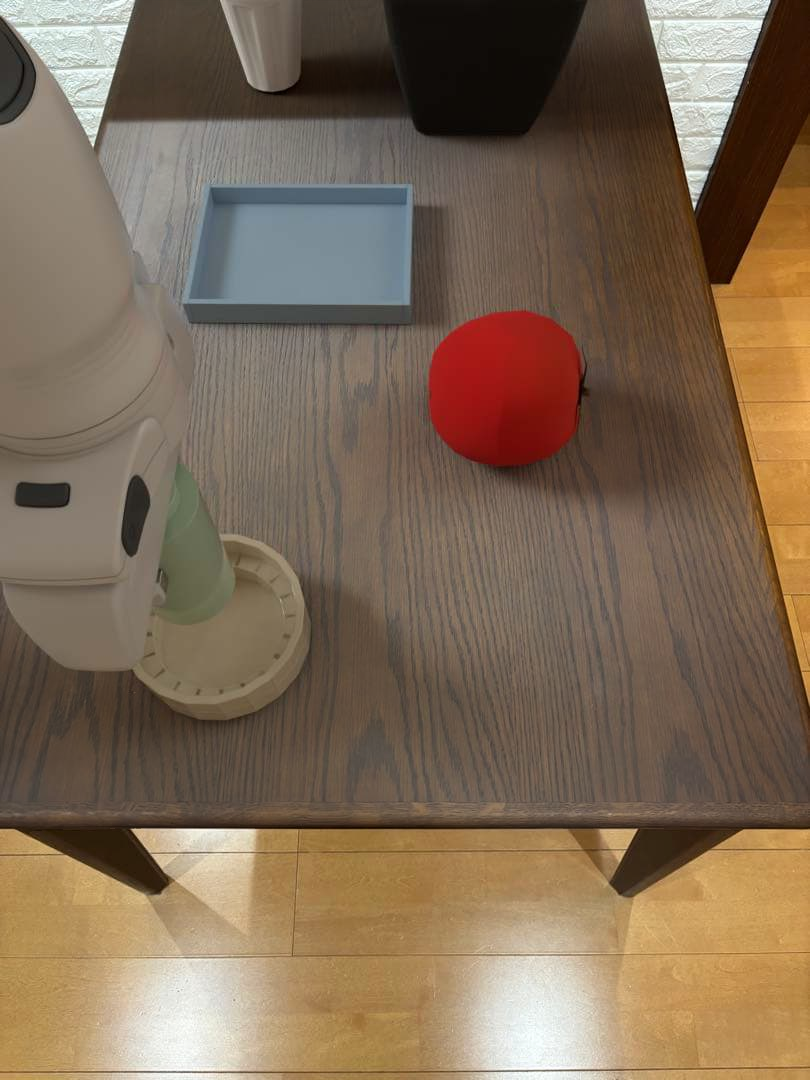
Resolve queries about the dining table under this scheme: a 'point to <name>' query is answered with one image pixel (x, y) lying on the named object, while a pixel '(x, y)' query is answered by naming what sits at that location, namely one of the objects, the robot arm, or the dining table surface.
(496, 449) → the tomato
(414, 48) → the flower pot
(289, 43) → the cup
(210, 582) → the bottle
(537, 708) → the dining table surface
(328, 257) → the tray
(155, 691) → the bowl
